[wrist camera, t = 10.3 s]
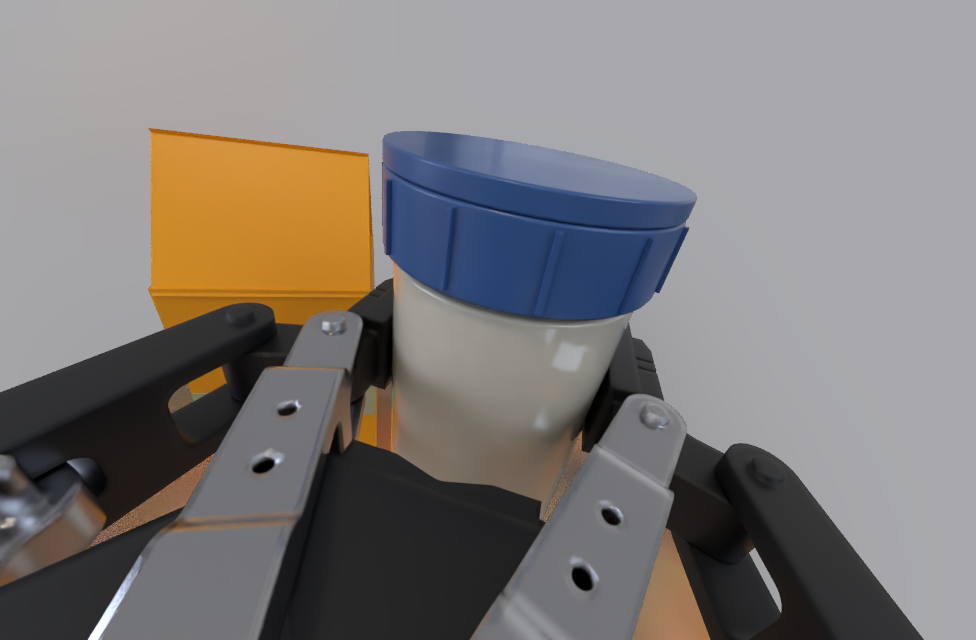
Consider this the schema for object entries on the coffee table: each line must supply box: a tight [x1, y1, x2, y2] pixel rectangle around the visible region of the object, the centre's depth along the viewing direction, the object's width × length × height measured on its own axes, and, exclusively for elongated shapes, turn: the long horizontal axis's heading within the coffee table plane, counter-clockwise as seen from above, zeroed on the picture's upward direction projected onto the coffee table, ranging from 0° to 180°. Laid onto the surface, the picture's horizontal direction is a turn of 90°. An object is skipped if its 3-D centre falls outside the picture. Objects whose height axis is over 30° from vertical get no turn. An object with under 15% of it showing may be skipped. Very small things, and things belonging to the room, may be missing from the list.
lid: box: [382, 131, 697, 320], centre depth 7 cm, size 6×6×2 cm
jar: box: [391, 262, 633, 520], centre depth 10 cm, size 5×5×11 cm
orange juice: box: [148, 128, 377, 452], centre depth 21 cm, size 8×9×20 cm
